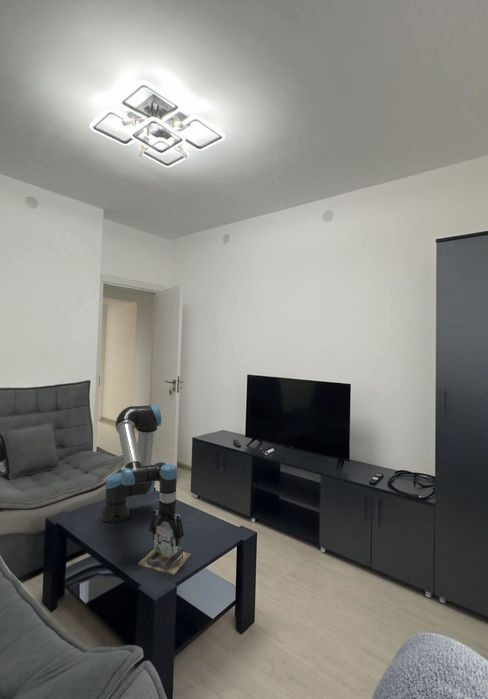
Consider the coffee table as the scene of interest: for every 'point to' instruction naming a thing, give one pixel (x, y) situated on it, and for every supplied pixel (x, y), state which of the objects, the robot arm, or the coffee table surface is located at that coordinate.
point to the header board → (165, 561)
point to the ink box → (164, 539)
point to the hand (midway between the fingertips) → (165, 549)
